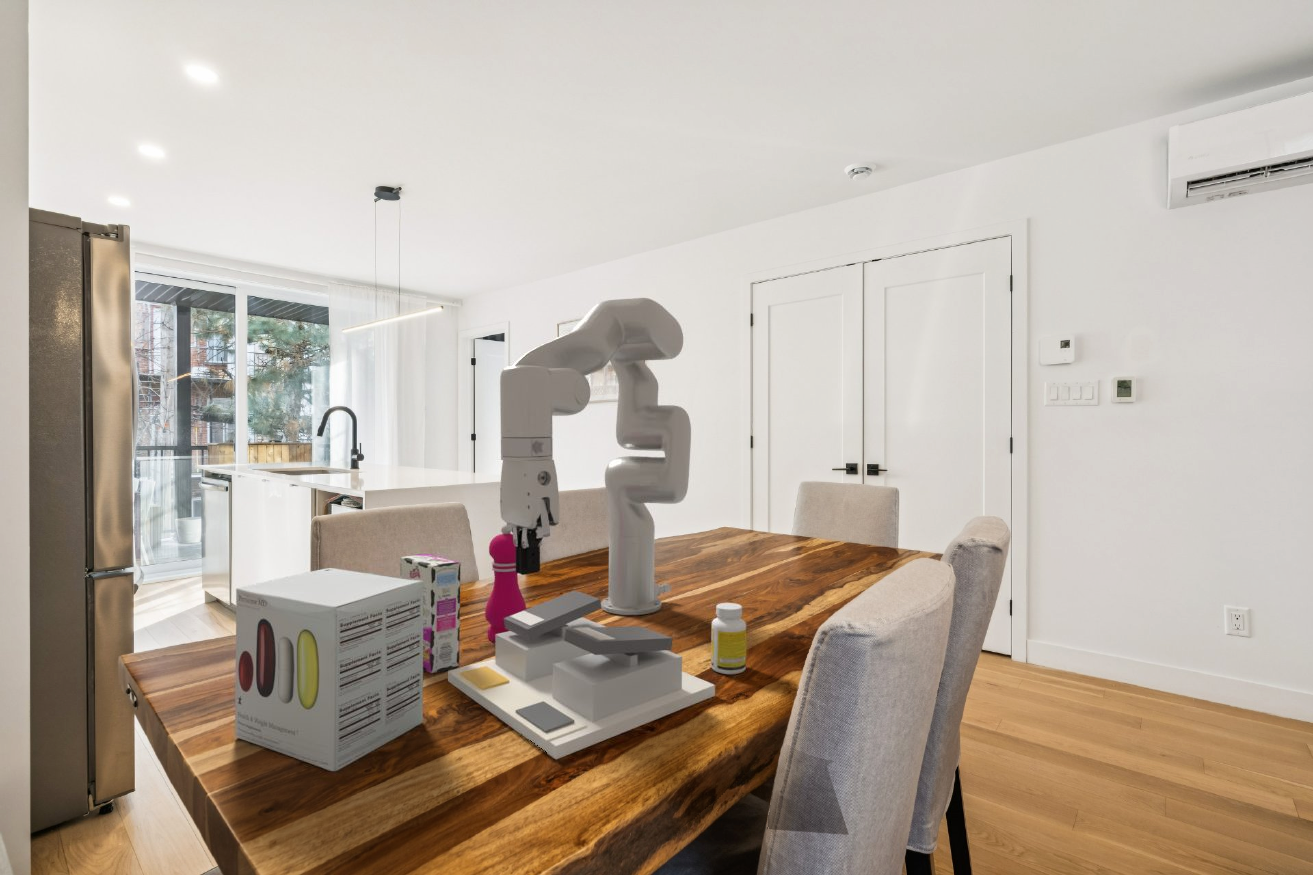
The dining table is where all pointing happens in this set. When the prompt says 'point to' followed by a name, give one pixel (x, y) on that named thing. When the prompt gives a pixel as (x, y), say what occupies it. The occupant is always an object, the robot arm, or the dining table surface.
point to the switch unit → (576, 689)
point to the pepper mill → (503, 584)
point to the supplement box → (328, 664)
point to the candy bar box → (437, 608)
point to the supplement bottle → (728, 640)
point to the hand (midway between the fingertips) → (527, 572)
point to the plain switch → (617, 639)
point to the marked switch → (552, 614)
